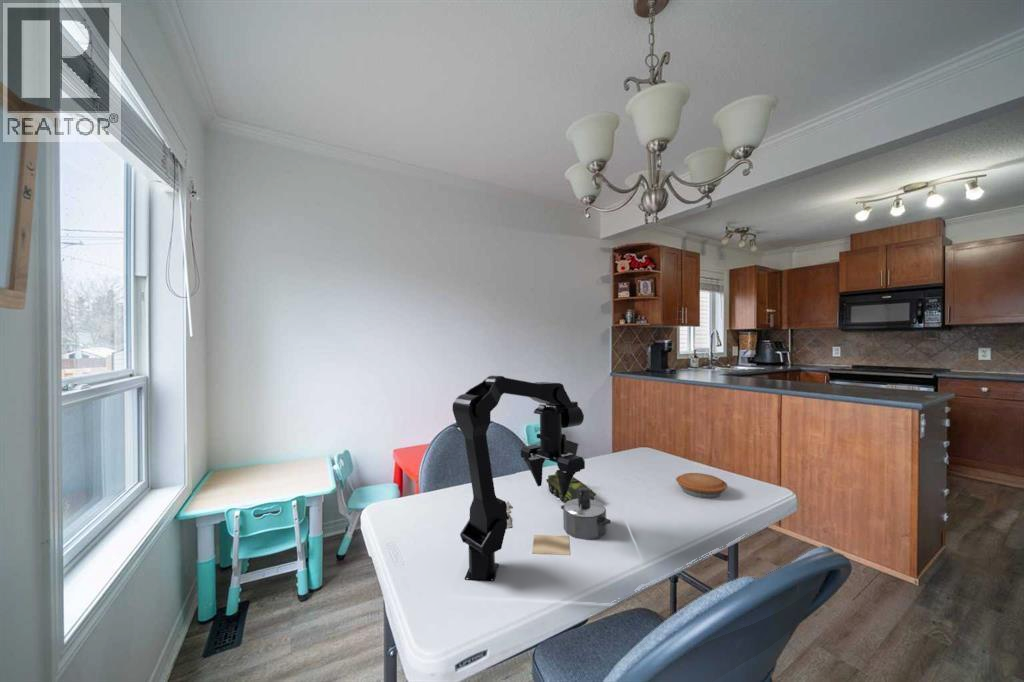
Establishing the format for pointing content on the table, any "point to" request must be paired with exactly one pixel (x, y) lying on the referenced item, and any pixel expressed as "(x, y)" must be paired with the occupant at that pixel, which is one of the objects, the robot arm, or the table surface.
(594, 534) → the pot
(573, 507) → the lid
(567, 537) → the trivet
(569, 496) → the toy vehicle
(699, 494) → the pie
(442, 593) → the table surface
